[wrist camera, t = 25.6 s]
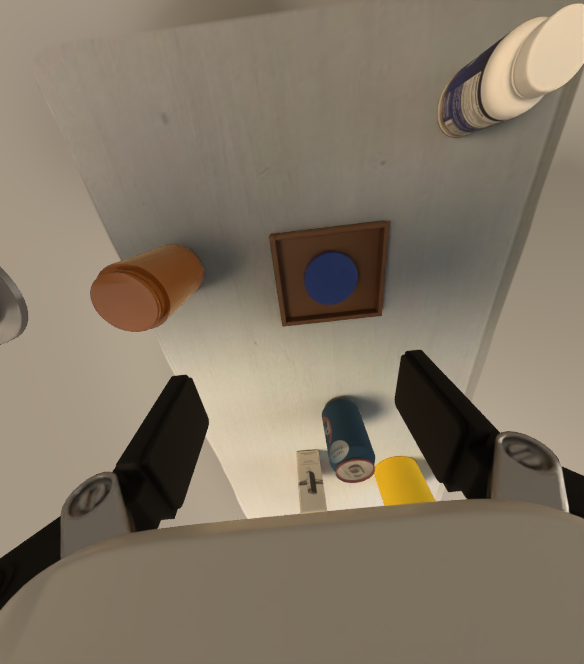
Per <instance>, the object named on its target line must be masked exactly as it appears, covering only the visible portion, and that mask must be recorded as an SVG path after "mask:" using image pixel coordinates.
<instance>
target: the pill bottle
mask: <svg viewBox="0 0 584 664" xmlns="http://www.w3.org/2000/svg"><path fill="white" fill-rule="evenodd" d="M583 63H584V4H580V3H579V4H572V5H569V6H566V7H564V8H562V9H561V10H559V11H558V12H556V13H555V14H553V15H552V16H550V17H549V18H548V17H538V18H534V19H531V20H528V21H526V22H524V23H523V24H521V25H519V26H518V27H517V28H515V29H514V30H512V31H511V32H510V33H508V34H507V35H506V36H504V37H503V38H502V39H500V40H499V41H498V42H496V43H495V44H494V45H493V46H491V47H490V48H489V49H487V50H486V51H485V52H483V53H482V54H481V55H479V56H478V57H477V58H476V59H474V60H473V61H472V62H470V63H469V64H468V65H466V66H465V67H464V68H462V69H461V70H460V71H459V72H458V73H457V74H455V75H454V76H453V77H452V79H451V80H450V81H449V82H448V84H447V85H446V87H445V89H444V90H443V92H442V95H441V97H440V100H439V104H438V122H439V125H440V128H441V129H442V131H443V132H444V133H445V134H446V135H448V136H451V137H462V136H465V135H468V134H471V133H473V132H476V131H478V130H481V129H484V128H486V127H489V126H492V125H494V124H497V123H500V122H503V121H505V120H508V119H511V118H514V117H516V116H518V115H520V114H522V113H524V112H526V111H527V110H529V109H530V108H532V107H533V106H534V105H535V104H536V103H538V102H539V101H540V100H541V99H542V98H543V96H544V95H545V94H547V93H549V92H551V91H553V90H556V89H558V88H559V87H561V86H562V85H564V84H565V83H566V82H568V81H569V80H570V79H571V78H572V77H573V76H574V75H575V74H576V73H577V71H578V70H579V69H580V68H581V66H582V65H583Z"/></svg>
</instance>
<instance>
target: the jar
mask: <svg viewBox="0 0 584 664" xmlns="http://www.w3.org/2000/svg"><path fill="white" fill-rule="evenodd" d="M203 278H204V271H203V267H202V264H201V262H200V260H199V259H198V257H197V256H196V255H195V254H194V253H193V252H192V251H191V250H189V249H188V248H186V247H184V246H181V245H177V244H167V245H164V246H161V247H158V248H156V249H153V250H150V251H147V252H145V253H142V254H139V255H136V256H133V257H131V258H128V259H125V260H122V261H120V262H117V263H114V264H111V265H109V266H107V267H105V268H104V269H103V270H102V271H101V272H100V273H99V275H98V277H97V279H96V280H95V281H94V282H93V284H92V286H91V291H90V295H91V300H92V303H93V305H94V308H95V309H96V311H97V312H98V313H99V315H100V316H101V317H102V318H103V319H104V320H106V321H107V322H108V323H110V324H111V325H113V326H115V327H117V328H119V329H122V330H125V331H131V332H140V331H146V330H148V329H152V328H155V327H158V326H160V325H161V324H163V323H164V322H165V321H166V320H167V319H168V318H169V317H170V316H171V315H172V314H173V313H174V312H175V311H176V310H177V309H178V308H179V307H180V306H181V305H182V304H183V303H184V302H185V301H186V300H187V299H188V298H189V297H190V296H191V295H192V294H193V293H194V292H195V291H196V290H197V289H198V288H199V287H200V286H201V284H202V282H203Z"/></svg>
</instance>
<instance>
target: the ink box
mask: <svg viewBox="0 0 584 664" xmlns="http://www.w3.org/2000/svg"><path fill="white" fill-rule="evenodd" d="M297 468H298V485H299V500H300V514H304V513H315V512H325V511H327V507H326V499H325V493H324V486H323V479H322V473H321V466H320V459H319V453H318V450H311V451H299V452H297Z"/></svg>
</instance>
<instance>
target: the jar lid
mask: <svg viewBox="0 0 584 664" xmlns="http://www.w3.org/2000/svg"><path fill="white" fill-rule="evenodd" d="M357 279H358V274H357V269H356V266H355V265H354V262H352V260H351V259H350V258H348V257H347V255H346V254H343V253H341V252H339V251H336V250H335V251H334V250H329V251H324V252H321V253H319V254H317V255H315V256H314V257H313V258H312V259H311V260H310V261H309V263H307V266H306V268H305V272H304V286H305V287H306V290H307V292H308V294H309V296H310V297H311V298H312V299H313V300H315V301H316V302H318V303H321V304H325V305H333V304H337V303H340V302H342V301H344V300H345V299H347V298H348V297H349V296H350V295H351V294H352V292H353V291H354V289H355V287H356V284H357Z"/></svg>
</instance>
